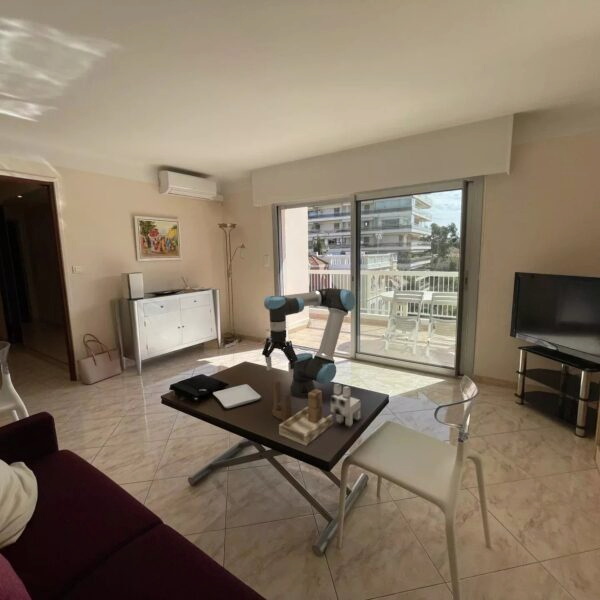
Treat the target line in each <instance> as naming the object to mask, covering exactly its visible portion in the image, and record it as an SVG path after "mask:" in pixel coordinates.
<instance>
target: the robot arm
mask: <svg viewBox="0 0 600 600" xmlns="http://www.w3.org/2000/svg"><path fill="white" fill-rule="evenodd" d="M263 305H264V307H265V310H268V311H269V312H268V313H269V326H270V327H269V328H270V330H269V331H270V332H269V333H270V334H269V335H270V336H269V337H266V338H265V344H264V347H263V349H262V353H261V355H262V356H264V358H265V364H266V371H271V370H272V369H273V368H272V365H273V364H272V355H271V354H272V353H273V351H274V350H275V349H276V350H280V351H281V352H282V353H283V354H284V355H285V357H286V359H287V360H288V363H287V365H288V366H287V367H288V369H287V370H288V377H292V382H291V385H290V388H289V392H290V393H291V396H292V397H294V398H299V399H300V398H302V399H303V398H304V399H305V398H307V399H308V393H309V392H311V391H313V390H314V389H317V388H316V386H315V383H314V382H318V383H320V384H324V385H327V384H330V383H331V382H332V381H333V380H334V379H335V377H336V373H337V367H336V365H335V359H334V355H335V351H336V348H337V344H338V340H339V337H340V333H341V330H342V326H343V322H344V319H345V317H346V316H348V314H349V312H350V311H352V310H353V309H354V308H355V306H356V298H355V294H354V292H352V291H351V290H350V289H345V288H342V289H341V288H332V287H326V288H320V289H314V290H312V291H310V292H303V293H301V292H300V293H293V294H286V295H284V294H283V295H268V296H266V297H265V298H264V301H263ZM309 306H313V307H323V308H327V310H328V312H329V313H328V317H327V320H326V325H325V328H324V331H323V334H322V337H321V342H320V345H319V349H318V352H317V353H315V354H314V355H313V354H312V353H310V352H302V353H301V352H300V353H297V354H296V351H295V349H294V347H293V343H292V340H288V341H287V321H286V320H287V316H289V315H294V314H299V313H301V312H303V311H304V309H305V307H309ZM290 393H289V394H290Z"/></svg>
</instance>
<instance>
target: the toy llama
mask: <svg viewBox="0 0 600 600" xmlns="http://www.w3.org/2000/svg"><path fill="white" fill-rule="evenodd" d="M361 400H362V399H359V398H357V397H354V396H351V386H348V385H344V386H343V387H342V383H339V382H336V383H334V384H333V395H331V396H330V413H333V414H336V418H335V419H336V421H335V422H336V423H337V424H340V425H341V424H342V423H345V424H344V425H345V427H347V428H351V427H353V424H354V423H353V422H354V420H355V421H360V420H361V413H362V412H361V411H362V410H361V405H362V402H361ZM344 417H345V419H344ZM359 419H360V420H359Z"/></svg>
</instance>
